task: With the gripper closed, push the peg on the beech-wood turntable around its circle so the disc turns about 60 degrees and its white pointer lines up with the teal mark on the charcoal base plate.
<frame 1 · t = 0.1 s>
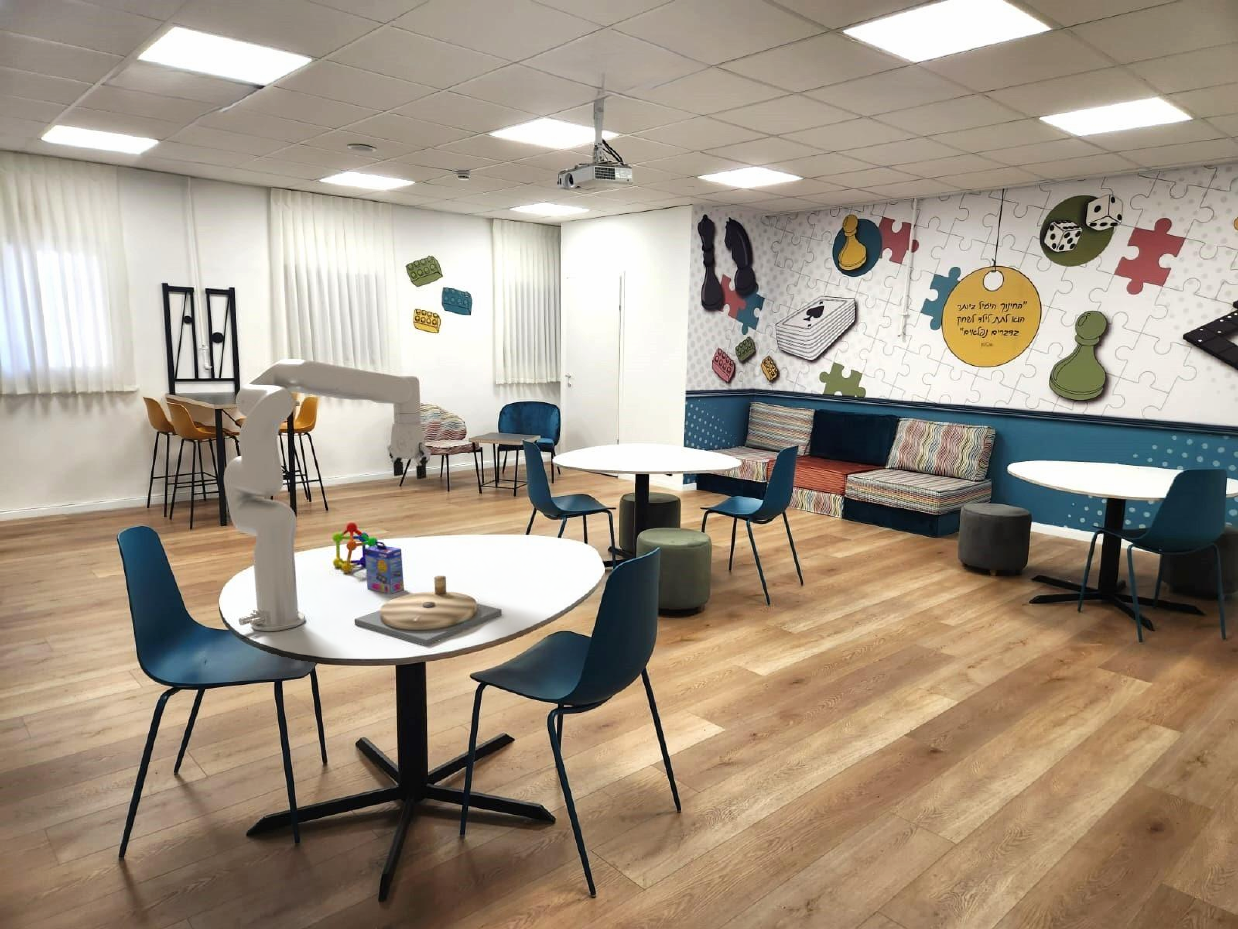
hand: (410, 477, 238), 31 cm above the table, fingers open, 9 cm apart
turntable: (428, 601, 208), point 5 cm above the table, hinge at 0.0°
base plate: (429, 619, 209), on the table
ink cartridge box: (385, 590, 234), on the table
educational toy: (355, 568, 257), on the table
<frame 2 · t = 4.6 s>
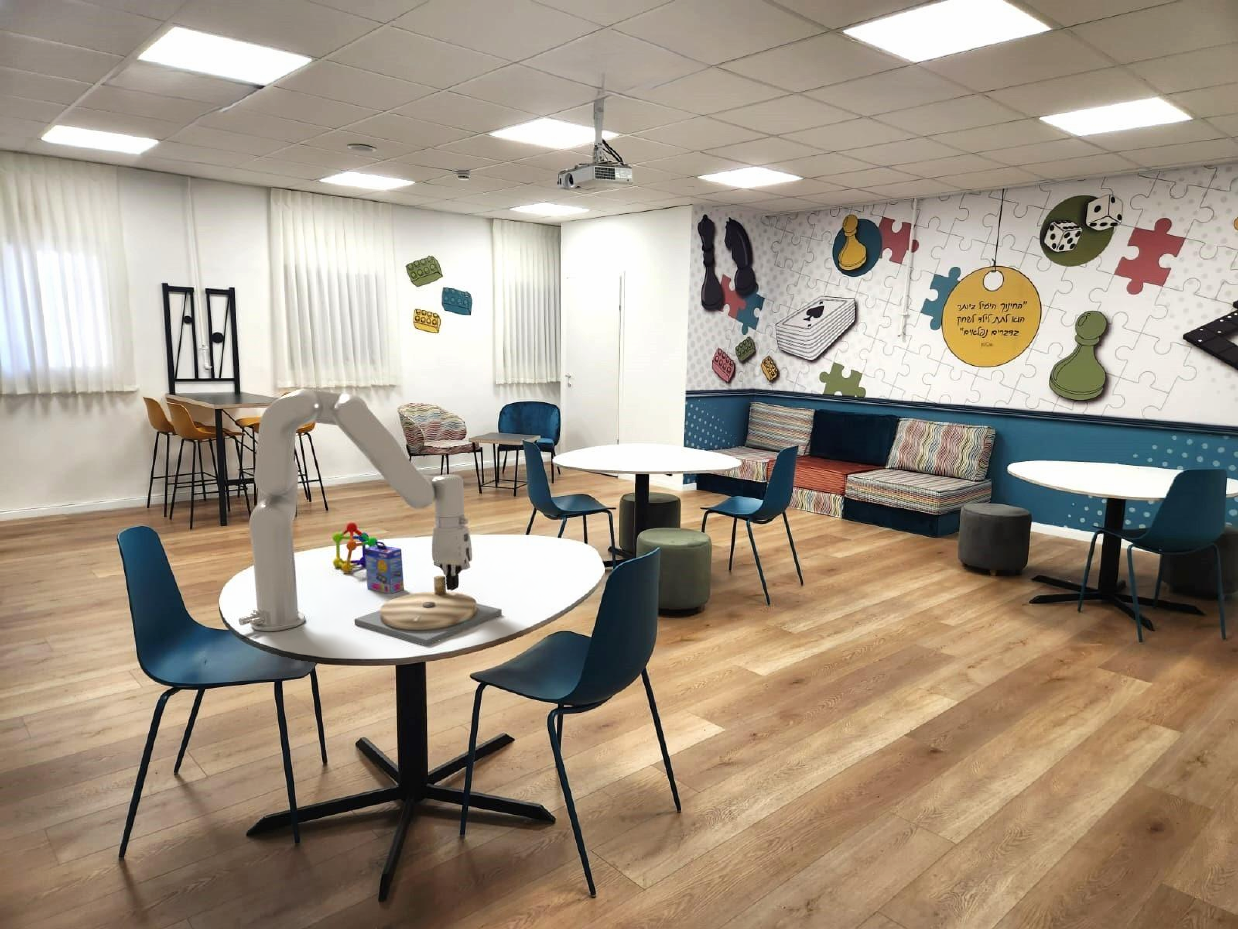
hand: (452, 588, 217), 5 cm above the table, fingers closed
turntable: (428, 601, 208), point 5 cm above the table, hinge at 0.6°, touching gripper
everything else where it was.
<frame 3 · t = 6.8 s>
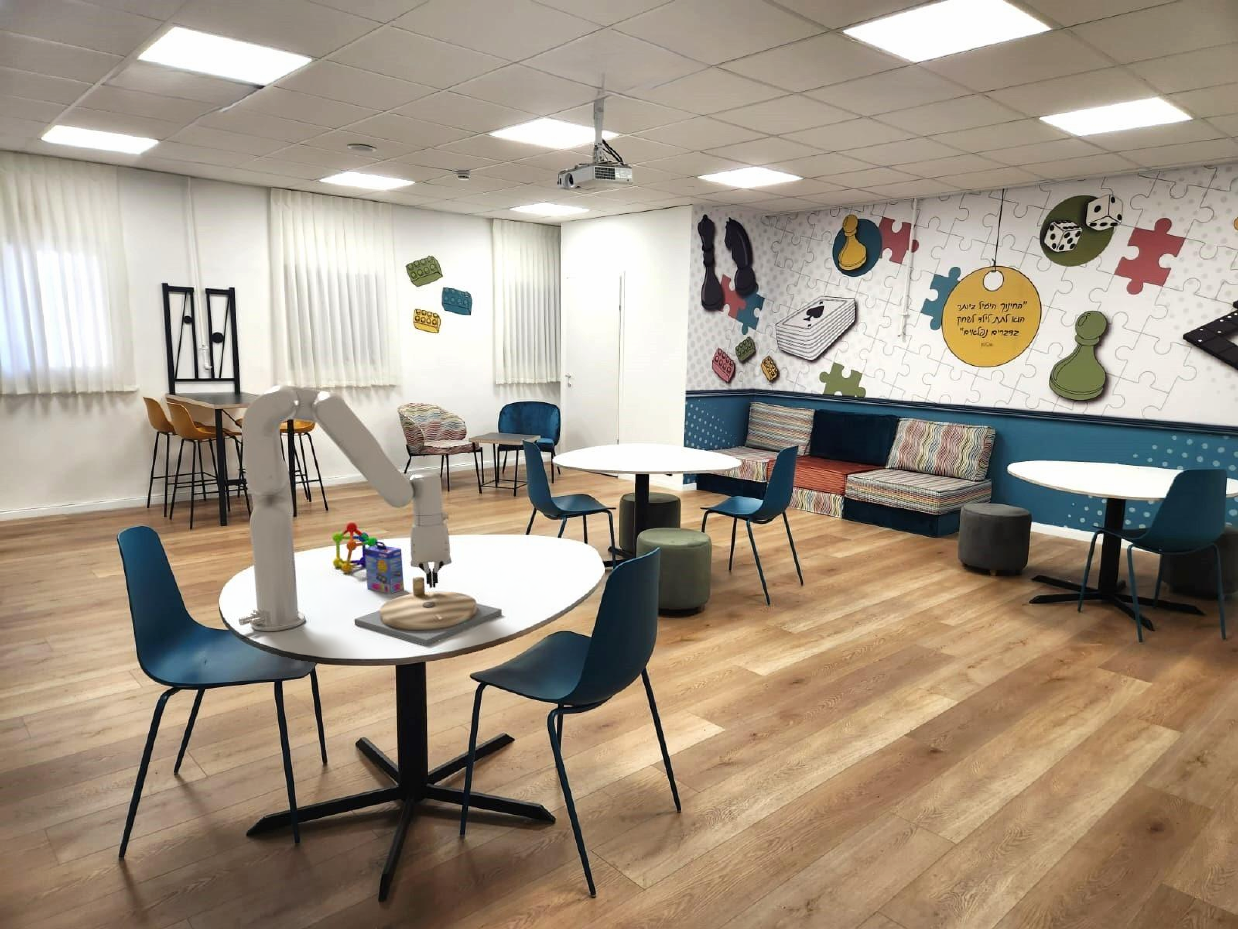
hand: (432, 586, 218), 6 cm above the table, fingers closed
turntable: (428, 601, 208), point 5 cm above the table, hinge at 31.1°, touching gripper
everything else where it was.
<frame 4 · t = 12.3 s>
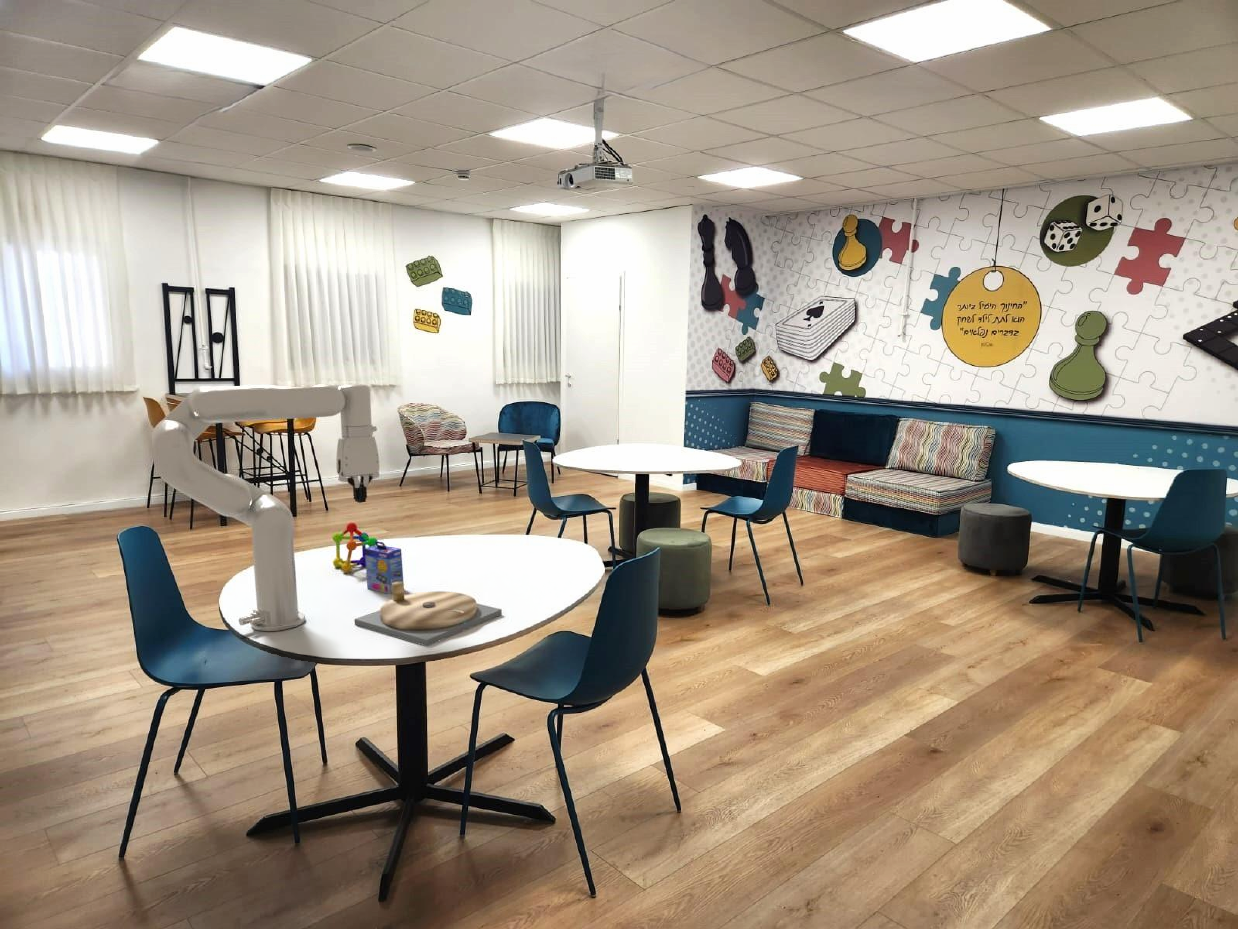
hand: (360, 501, 213), 29 cm above the table, fingers closed
turntable: (428, 601, 208), point 5 cm above the table, hinge at 64.7°
everything else where it was.
at the end: turntable at +65° (first picture: +0°) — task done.
